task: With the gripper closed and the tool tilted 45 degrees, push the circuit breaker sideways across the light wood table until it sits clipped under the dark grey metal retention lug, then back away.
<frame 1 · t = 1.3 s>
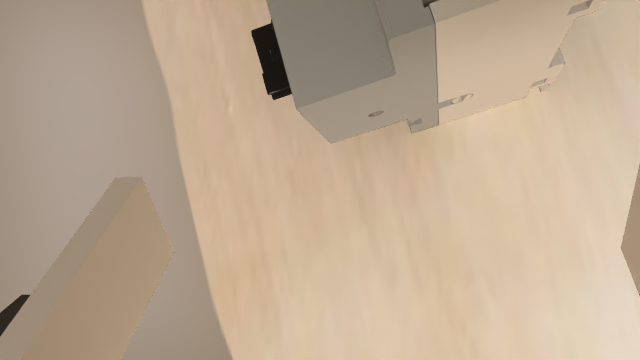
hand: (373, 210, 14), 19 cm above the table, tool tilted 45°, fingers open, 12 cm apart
circuit breaker: (410, 72, 34), on the table
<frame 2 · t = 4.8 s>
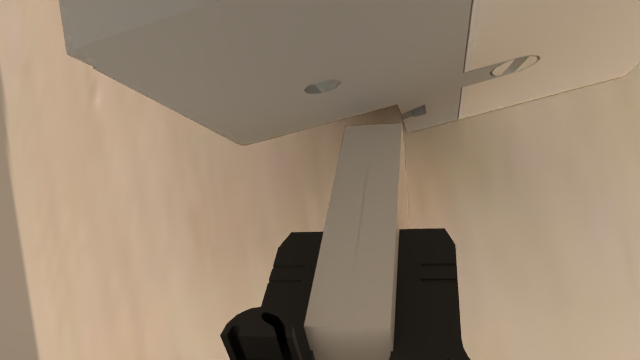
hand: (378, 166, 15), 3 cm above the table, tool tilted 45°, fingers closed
circuit breaker: (410, 22, 19), on the table, touching gripper
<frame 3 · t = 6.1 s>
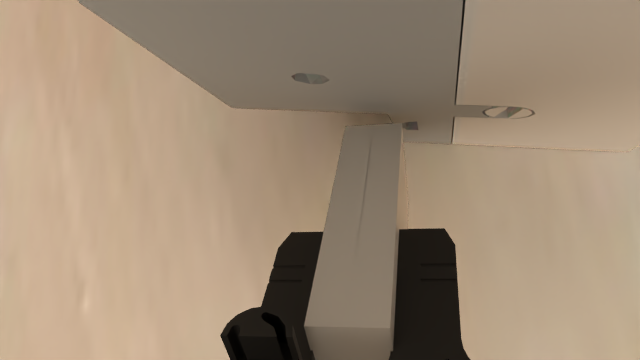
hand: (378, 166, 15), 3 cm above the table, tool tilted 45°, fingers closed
circuit breaker: (439, 34, 19), on the table, touching gripper
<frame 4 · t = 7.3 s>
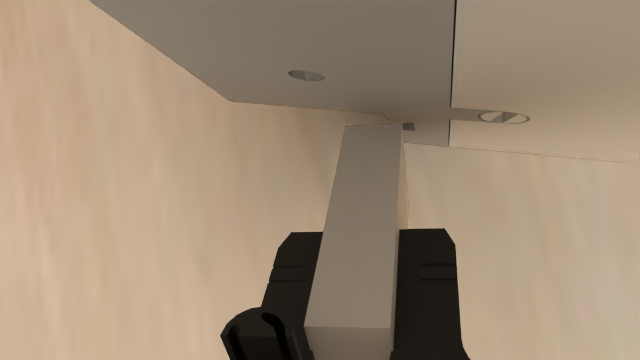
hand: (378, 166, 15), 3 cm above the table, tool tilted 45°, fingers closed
circuit breaker: (441, 36, 19), on the table, touching gripper, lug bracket
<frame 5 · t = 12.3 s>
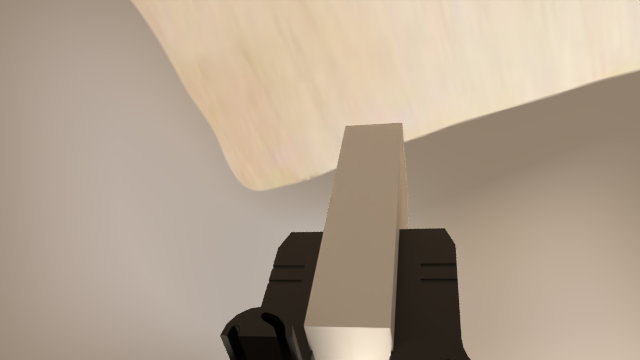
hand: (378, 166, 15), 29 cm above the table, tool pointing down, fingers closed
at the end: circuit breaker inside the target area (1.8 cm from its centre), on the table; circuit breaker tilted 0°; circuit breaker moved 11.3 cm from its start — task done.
